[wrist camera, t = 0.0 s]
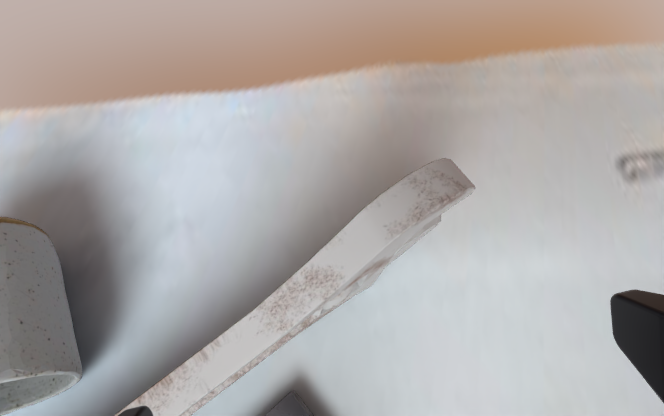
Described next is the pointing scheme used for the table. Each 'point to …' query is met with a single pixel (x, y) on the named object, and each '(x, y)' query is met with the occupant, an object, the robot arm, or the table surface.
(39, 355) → the ceramic mug
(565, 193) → the table surface
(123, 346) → the table surface
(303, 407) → the piston stand
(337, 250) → the wrench
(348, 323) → the table surface
